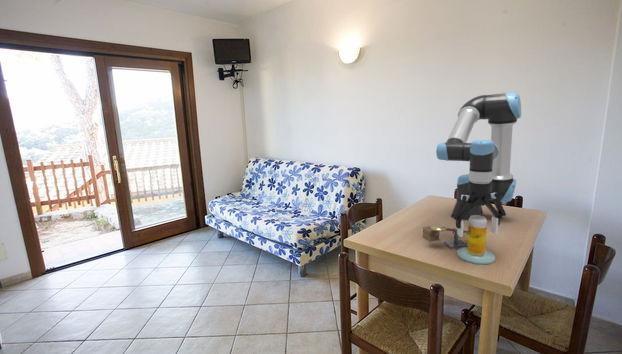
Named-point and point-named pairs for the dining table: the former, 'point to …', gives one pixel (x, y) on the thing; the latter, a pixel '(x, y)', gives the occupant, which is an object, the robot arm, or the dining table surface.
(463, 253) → the dish
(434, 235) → the walnut block
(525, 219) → the dining table surface
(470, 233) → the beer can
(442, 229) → the balance
